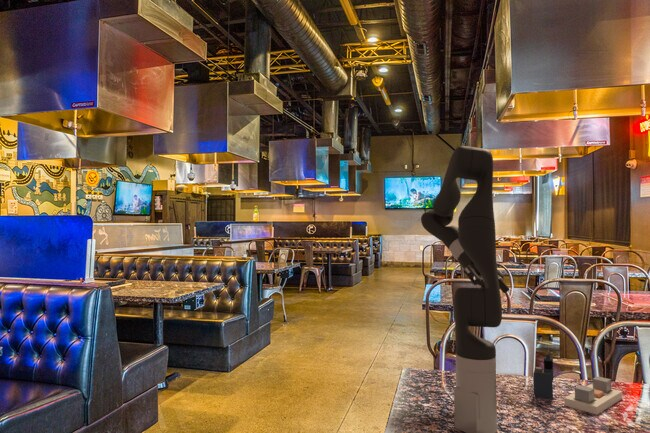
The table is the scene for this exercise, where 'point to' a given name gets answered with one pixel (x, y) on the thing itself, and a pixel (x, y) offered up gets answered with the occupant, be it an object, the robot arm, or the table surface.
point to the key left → (584, 393)
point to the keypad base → (594, 401)
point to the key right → (602, 384)
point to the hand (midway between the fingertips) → (499, 292)
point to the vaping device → (544, 379)
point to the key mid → (598, 393)
